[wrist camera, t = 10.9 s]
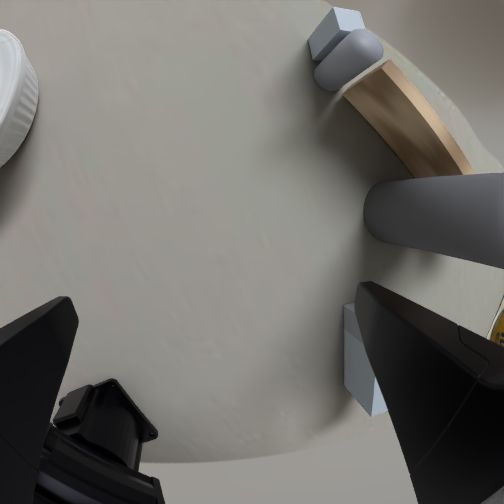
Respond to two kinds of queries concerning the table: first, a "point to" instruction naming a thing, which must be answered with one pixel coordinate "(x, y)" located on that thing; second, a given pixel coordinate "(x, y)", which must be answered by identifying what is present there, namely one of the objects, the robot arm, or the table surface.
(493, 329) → the condiment
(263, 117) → the table surface
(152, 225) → the table surface
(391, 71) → the door
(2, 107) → the ramekin
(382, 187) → the gray cylinder
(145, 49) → the table surface
